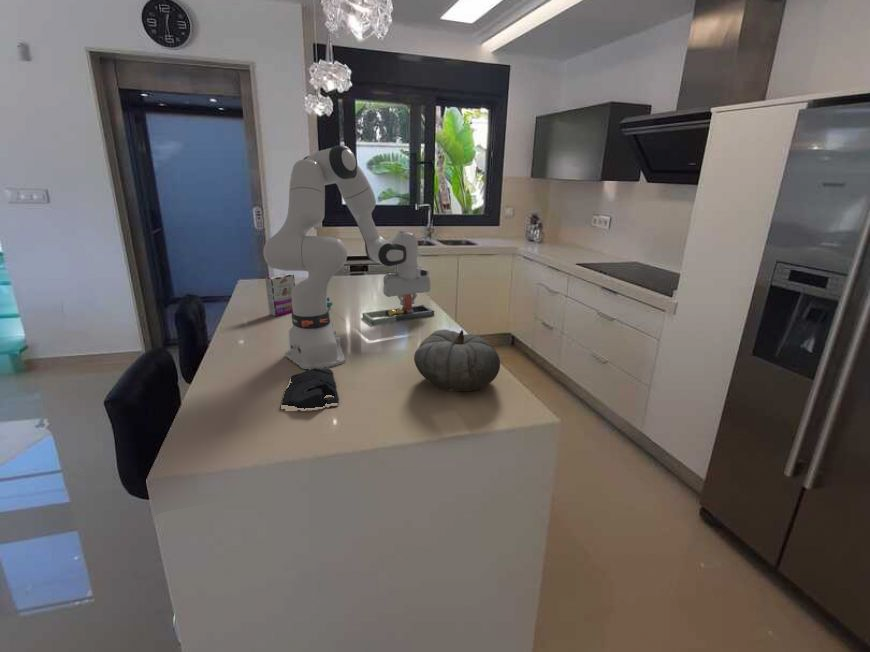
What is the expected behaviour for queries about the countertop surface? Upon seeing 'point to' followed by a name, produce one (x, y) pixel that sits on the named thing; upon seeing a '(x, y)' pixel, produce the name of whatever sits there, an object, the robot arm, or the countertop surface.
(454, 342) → the gourd
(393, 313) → the shiny gold ball
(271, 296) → the candy bar box
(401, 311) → the yellow-brown round piece
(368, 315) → the tray
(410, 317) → the tray
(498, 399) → the countertop surface
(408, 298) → the red-brown bar
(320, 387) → the dark slate chunk
